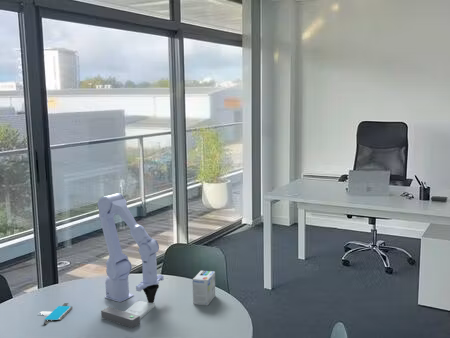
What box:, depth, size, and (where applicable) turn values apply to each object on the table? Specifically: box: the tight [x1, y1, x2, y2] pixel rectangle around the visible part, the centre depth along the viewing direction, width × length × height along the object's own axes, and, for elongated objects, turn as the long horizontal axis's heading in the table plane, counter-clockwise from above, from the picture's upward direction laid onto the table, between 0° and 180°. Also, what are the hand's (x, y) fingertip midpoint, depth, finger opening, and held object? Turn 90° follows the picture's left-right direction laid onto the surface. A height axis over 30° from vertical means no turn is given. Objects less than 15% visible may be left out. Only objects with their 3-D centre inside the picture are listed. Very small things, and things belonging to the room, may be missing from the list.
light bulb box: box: [192, 270, 216, 306], centre depth 194 cm, size 11×7×11 cm, turn 164°
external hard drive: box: [124, 300, 156, 320], centre depth 185 cm, size 2×8×12 cm
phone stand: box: [39, 303, 73, 325], centre depth 184 cm, size 20×12×2 cm, turn 174°
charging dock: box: [100, 306, 141, 329], centre depth 177 cm, size 16×4×3 cm, turn 57°
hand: (150, 302), depth 191 cm, fingers closed
